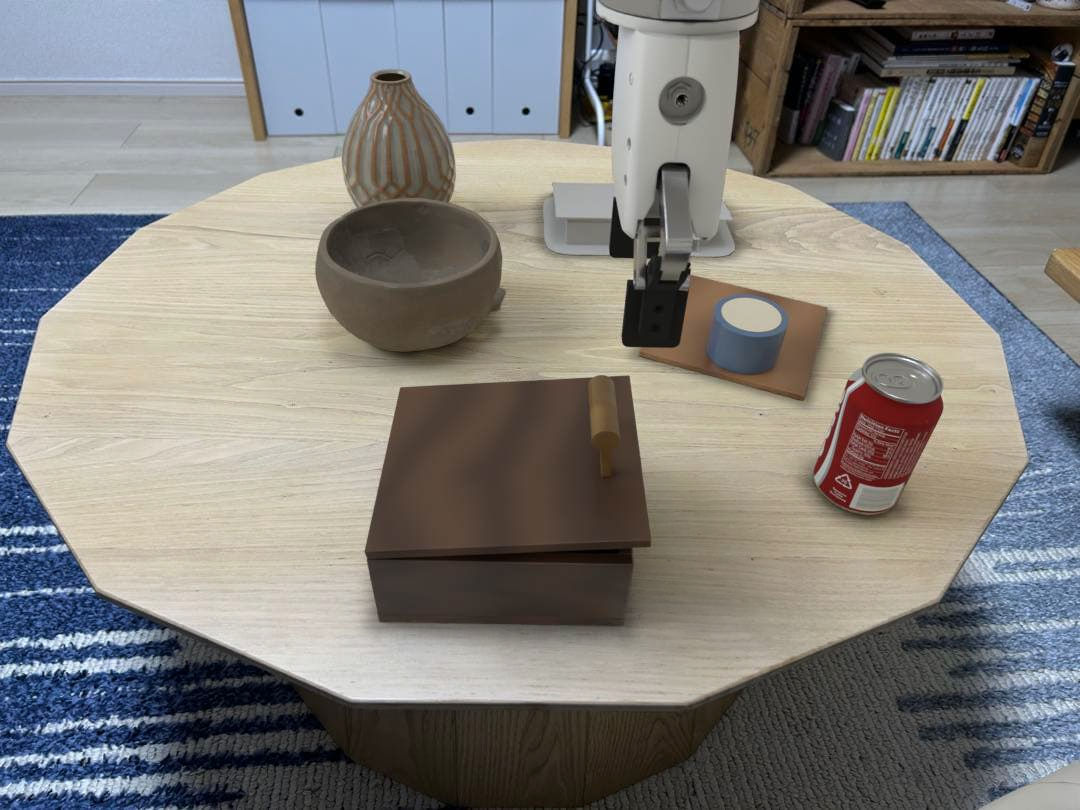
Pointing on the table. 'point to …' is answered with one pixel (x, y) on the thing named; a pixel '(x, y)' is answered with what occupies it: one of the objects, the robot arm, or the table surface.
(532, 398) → the lid
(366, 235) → the bowl
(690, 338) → the plate
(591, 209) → the grey plastic case
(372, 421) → the table surface
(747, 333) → the blue beige short cylinder
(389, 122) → the vase
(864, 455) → the soda can
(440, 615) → the chest
